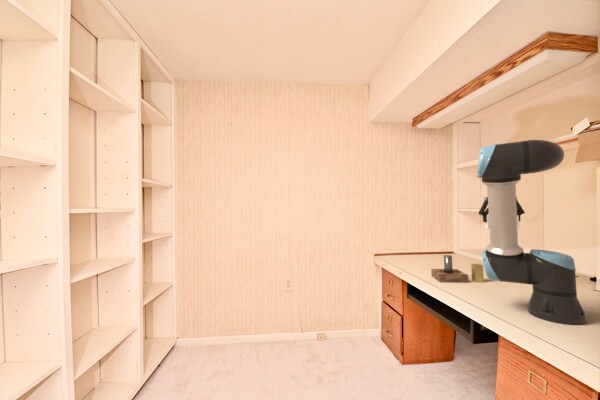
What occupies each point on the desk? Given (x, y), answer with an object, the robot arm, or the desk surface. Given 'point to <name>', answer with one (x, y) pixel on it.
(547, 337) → the desk surface
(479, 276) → the square bit
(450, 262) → the round bit
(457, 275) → the socket block
